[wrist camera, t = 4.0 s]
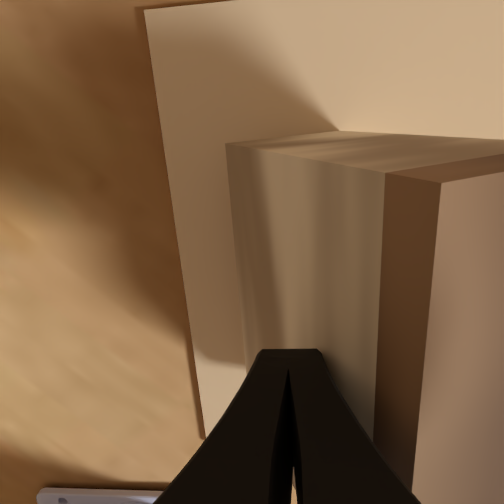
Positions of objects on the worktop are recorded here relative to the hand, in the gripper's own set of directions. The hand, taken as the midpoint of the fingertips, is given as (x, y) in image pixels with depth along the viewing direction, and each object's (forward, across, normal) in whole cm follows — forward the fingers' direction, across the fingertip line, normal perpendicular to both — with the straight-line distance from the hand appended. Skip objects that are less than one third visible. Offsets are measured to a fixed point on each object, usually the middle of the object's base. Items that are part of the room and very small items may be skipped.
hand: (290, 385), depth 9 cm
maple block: (+6, 0, 0) cm, 6 cm away
